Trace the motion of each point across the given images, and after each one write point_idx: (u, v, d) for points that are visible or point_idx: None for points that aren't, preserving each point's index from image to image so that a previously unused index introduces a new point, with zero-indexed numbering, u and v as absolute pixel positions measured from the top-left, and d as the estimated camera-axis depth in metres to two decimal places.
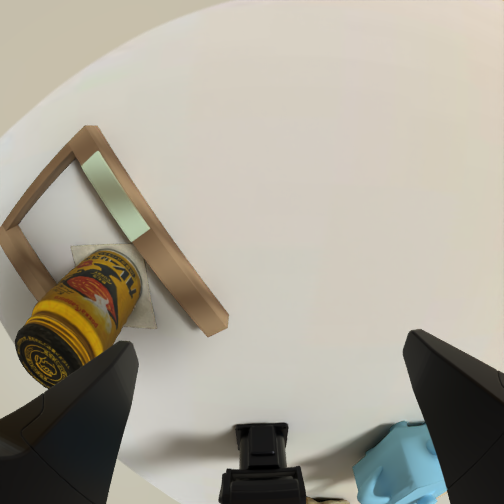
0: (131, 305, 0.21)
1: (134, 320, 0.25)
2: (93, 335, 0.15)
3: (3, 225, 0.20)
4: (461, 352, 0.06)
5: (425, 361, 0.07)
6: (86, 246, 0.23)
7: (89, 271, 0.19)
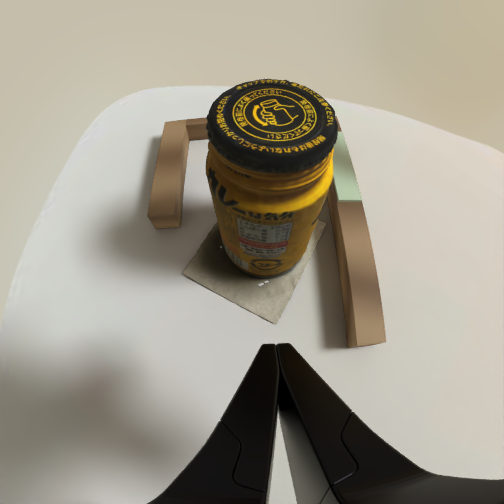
0: (304, 247, 0.18)
1: (253, 298, 0.19)
2: (332, 168, 0.13)
3: (187, 120, 0.24)
4: (317, 378, 0.06)
5: (279, 381, 0.07)
6: None
7: None
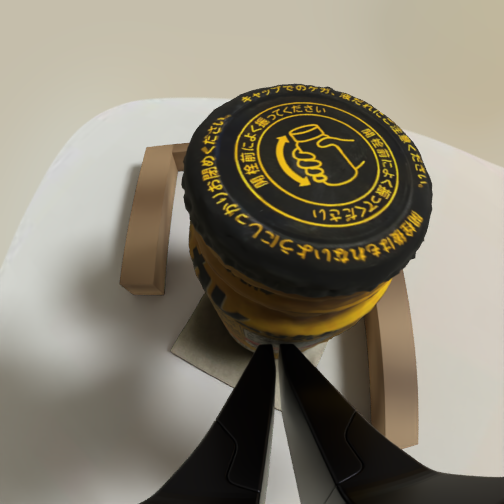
0: None
1: None
2: None
3: (174, 146, 0.18)
4: (321, 377, 0.06)
5: (283, 381, 0.07)
6: None
7: None
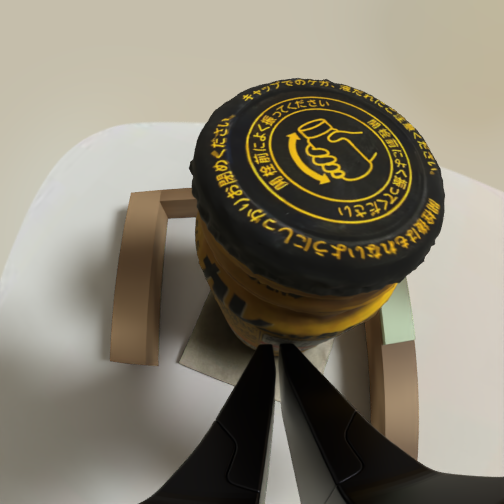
0: None
1: (276, 383, 0.14)
2: None
3: (162, 192, 0.16)
4: (321, 377, 0.06)
5: (283, 381, 0.07)
6: None
7: None
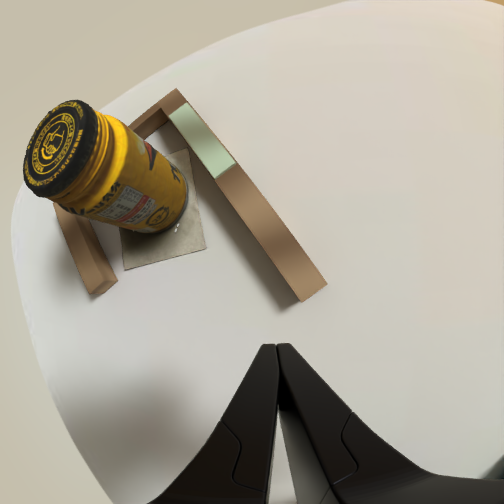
0: (172, 183, 0.19)
1: (177, 244, 0.22)
2: (121, 129, 0.13)
3: None
4: (317, 378, 0.06)
5: (280, 381, 0.07)
6: None
7: None
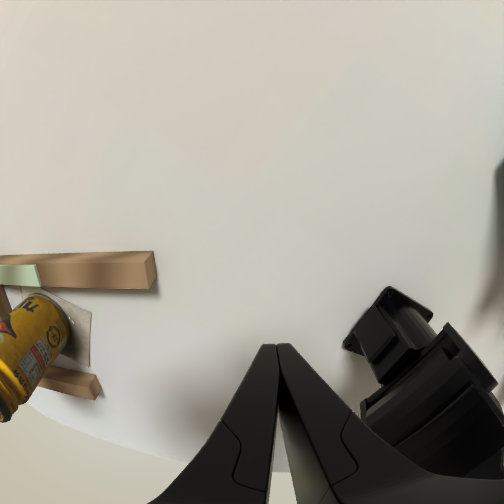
0: (34, 315, 0.19)
1: (81, 327, 0.23)
2: None
3: None
4: (317, 378, 0.06)
5: (279, 381, 0.07)
6: None
7: None
